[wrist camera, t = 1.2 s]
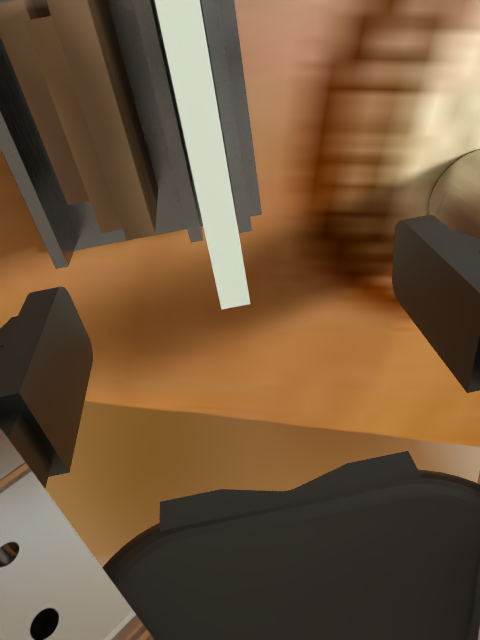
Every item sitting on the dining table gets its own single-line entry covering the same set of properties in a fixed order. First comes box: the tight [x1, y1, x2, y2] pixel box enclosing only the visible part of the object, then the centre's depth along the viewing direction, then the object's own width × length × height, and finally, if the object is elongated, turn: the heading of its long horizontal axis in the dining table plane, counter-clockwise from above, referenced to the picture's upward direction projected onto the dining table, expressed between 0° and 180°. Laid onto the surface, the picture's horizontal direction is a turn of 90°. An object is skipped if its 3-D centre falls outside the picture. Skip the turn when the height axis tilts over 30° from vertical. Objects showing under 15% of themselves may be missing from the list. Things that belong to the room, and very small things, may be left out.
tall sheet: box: [155, 0, 250, 310], centre depth 27 cm, size 2×16×18 cm, turn 9°
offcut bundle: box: [0, 0, 158, 240], centre depth 30 cm, size 6×14×9 cm, turn 9°
